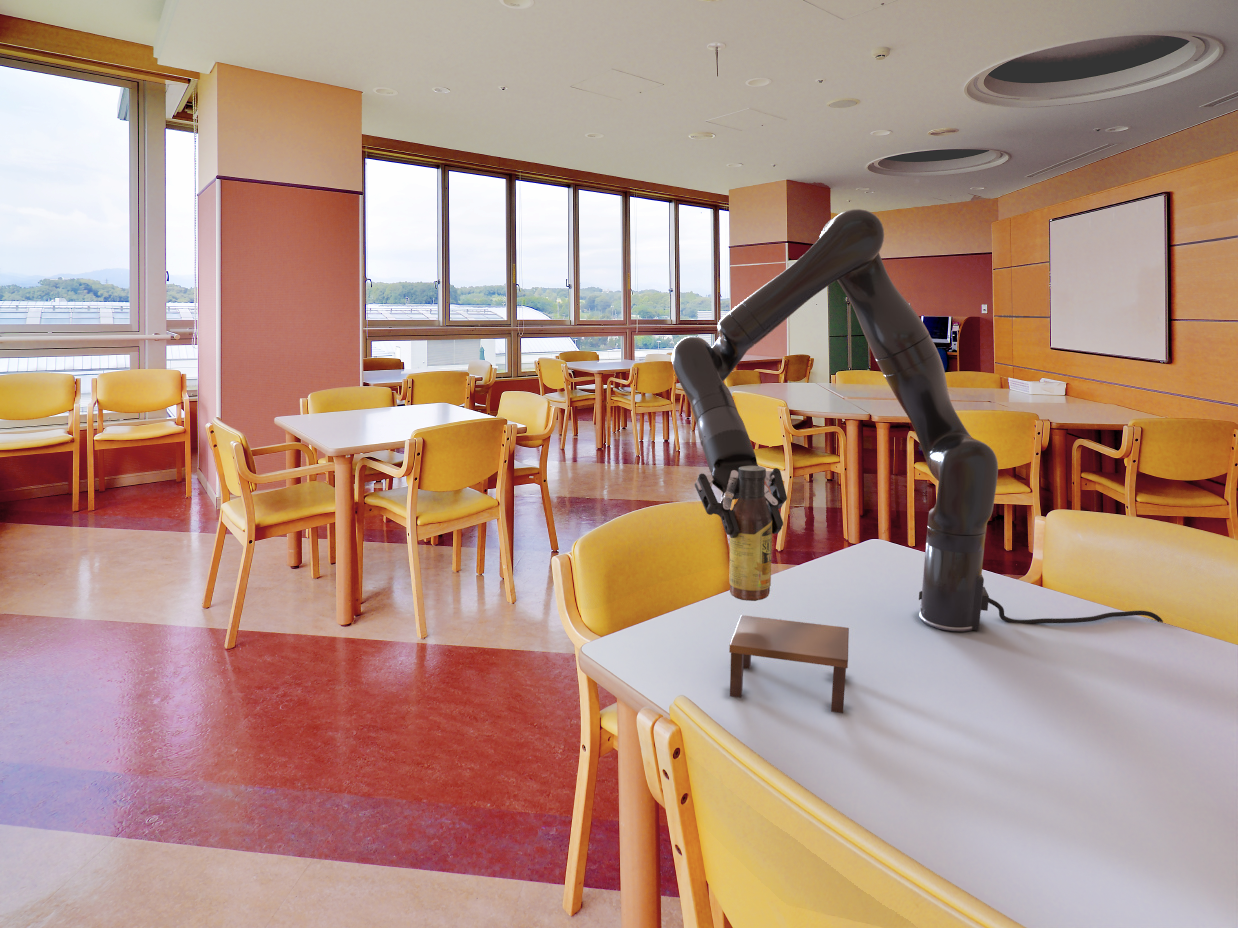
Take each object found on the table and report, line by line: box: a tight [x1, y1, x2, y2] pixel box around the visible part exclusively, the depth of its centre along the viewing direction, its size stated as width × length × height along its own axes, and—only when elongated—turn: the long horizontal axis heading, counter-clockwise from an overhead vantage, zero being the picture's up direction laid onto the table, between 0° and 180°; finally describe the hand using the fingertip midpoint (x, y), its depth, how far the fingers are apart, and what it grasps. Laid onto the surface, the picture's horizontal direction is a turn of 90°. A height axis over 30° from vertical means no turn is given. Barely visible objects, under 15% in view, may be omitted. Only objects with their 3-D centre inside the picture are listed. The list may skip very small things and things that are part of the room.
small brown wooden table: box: [728, 614, 850, 714], centre depth 107 cm, size 16×11×8 cm
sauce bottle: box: [728, 465, 773, 602], centre depth 110 cm, size 7×6×20 cm
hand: (756, 533), depth 108 cm, fingers closed on sauce bottle, 6 cm apart
